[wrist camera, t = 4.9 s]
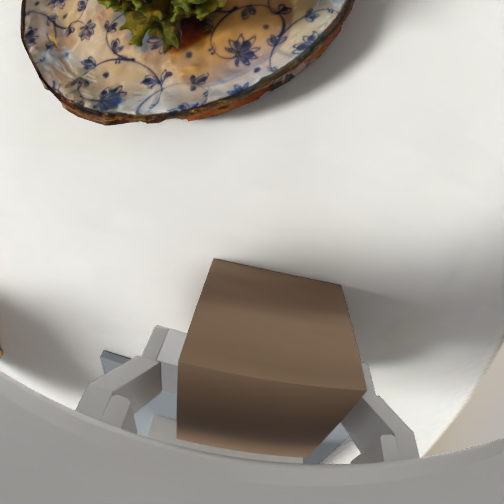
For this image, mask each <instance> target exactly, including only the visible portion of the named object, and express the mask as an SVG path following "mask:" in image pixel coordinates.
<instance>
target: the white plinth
mask: <svg viewBox="0 0 504 504" xmlns="http://www.w3.org/2000/svg"><path fill="white" fill-rule="evenodd" d="M147 437H148V438H152V439H155V440H159V441H163V442H166V443H170V444H174V445H178V446H182V447H186V448H191V449H195V450H200V451H205V452H210V453H215V454H220V455H226V456H232V457H239V458H246V459H254V460H262V461H272V462H284V463H300V464H303V458H300V457H285V456H274V455H264V454H256V453H248V452H241V451H234V450H228V449H222V448H217V447H212V446H207V445H202V444H197V443H192V442H188V441H184V440H180V439H177V421H176V420H172V419H168V418H164V417H161V416H157V415H154V417H153V420H152V423H151V427H150V430H149V433H148V436H147Z"/></svg>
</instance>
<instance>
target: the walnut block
mask: <svg viewBox="0 0 504 504" xmlns="http://www.w3.org/2000/svg"><path fill="white" fill-rule="evenodd" d="M366 391H367V387H366V382H365V378H364V373H363V369H362V365H361V360H360V356H359V352H358V348H357V344H356V340H355V336H354V332H353V328H352V324H351V320H350V316H349V313H348V309H347V305H346V302H345V298H344V294H343V291H342V287H341V285H337V284H332V283H327V282H322V281H317V280H313V279H308V278H303V277H298V276H293V275H288V274H283V273H279V272H274V271H269V270H264V269H260V268H255V267H250V266H245V265H241V264H236V263H231V262H227V261H222V260H217V259H213V262H212V264H211V267H210V270H209V273H208V276H207V278H206V281H205V284H204V287H203V290H202V292H201V295H200V298H199V301H198V304H197V307H196V310H195V312H194V315H193V318H192V321H191V324H190V327H189V330H188V333H187V336H186V339H185V342H184V345H183V348H182V351H181V354H180V357H179V360H178V375H177V439H180V440H184V441H188V442H192V443H197V444H202V445H207V446H212V447H217V448H222V449H228V450H234V451H241V452H248V453H256V454H264V455H274V456H285V457H300V458H307V457H308V456H309V455H310V454H311V453H312V452H313V451H314V450H315V449H316V448H317V447H318V446H319V445H320V444H321V443H322V441H323V440H324V439H325V438H326V437H327V436H328V435H329V434H330V433H331V432H332V431H333V430H334V429H335V428H336V427H337V425H338V424H339V423H340V422H341V421H342V420H343V419H344V418H345V416H346V415H347V414H348V413H349V412H350V411H351V409H352V408H353V407H354V406H355V405H356V404H357V402H358V401H359V400H360V399H361V397H362V396H363V395H364V394H365V393H366Z"/></svg>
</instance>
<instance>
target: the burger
mask: <svg viewBox="0 0 504 504" xmlns="http://www.w3.org/2000/svg"><path fill="white" fill-rule="evenodd" d="M354 1H355V0H23V1H22V7H21V39H22V42H23V45H24V47H25V49H26V51H27V53H28V55H29V58H30V60H31V61H32V63H33V65H34V67H35V69H36V72H37V74H38V76H39V78H40V80H41V81H42V83H43V85H44V87H45V89H47V90H50V91H51V92H52V93H53V94H54V95H55V96H56V97H57V98H58V99H59V101H60V102H61V103H62V106H63V108H65V109H66V110H68V111H69V112H71V113H73V114H75V115H76V116H78V117H81V118H84V119H87V120H89V121H93V122H96V123H99V124H103V125H117V124H124V123H131V122H137V120H141V121H142V122H146V123H147V124H148V123H160V122H162V121H164V120H166V119H172V118H178V119H187V120H188V121H192V120H196V119H201V118H205V117H209V116H213V115H218V114H221V113H223V112H226V111H228V110H231V109H233V108H236V107H239V106H241V105H244V104H247V103H249V102H252V101H254V100H257V99H259V98H260V96H262V95H263V94H264V93H265V92H267V91H273V90H274V89H276V88H277V87H279V86H281V85H283V84H285V83H286V82H288V81H290V80H291V79H292V78H294V77H295V76H296V75H297V74H298V73H300V72H301V71H302V70H303V69H304V68H305V67H307V66H308V65H309V64H310V63H312V62H313V61H314V60H315V59H317V58H318V57H319V56H320V55H321V54H322V53H323V52H324V50H325V49H326V48H327V47H328V46H329V44H330V43H331V42H332V41H333V39H334V38H335V37H336V36H337V35H338V33H339V32H340V31H341V25H342V24H343V22H344V21H345V20H346V18H347V16H348V15H349V13H350V11H351V9H352V6H353V3H354Z"/></svg>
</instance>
